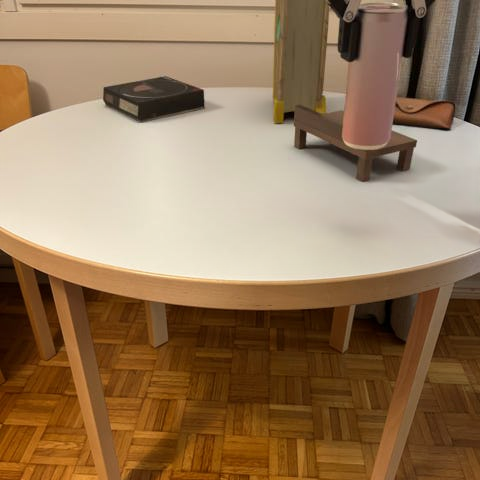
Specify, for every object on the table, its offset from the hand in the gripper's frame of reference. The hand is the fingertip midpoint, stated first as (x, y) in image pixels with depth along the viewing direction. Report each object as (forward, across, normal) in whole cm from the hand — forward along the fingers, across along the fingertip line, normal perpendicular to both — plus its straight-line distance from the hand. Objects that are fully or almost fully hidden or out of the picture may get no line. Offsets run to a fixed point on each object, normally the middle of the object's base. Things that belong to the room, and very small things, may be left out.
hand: (375, 56), depth 61 cm
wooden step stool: (+22, +8, +26) cm, 35 cm away
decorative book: (+22, +6, +55) cm, 60 cm away
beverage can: (+10, 0, 0) cm, 10 cm away
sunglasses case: (+23, +28, +44) cm, 56 cm away
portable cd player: (+22, -25, +65) cm, 73 cm away
